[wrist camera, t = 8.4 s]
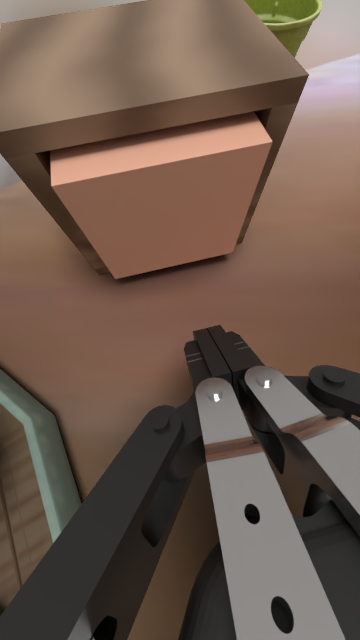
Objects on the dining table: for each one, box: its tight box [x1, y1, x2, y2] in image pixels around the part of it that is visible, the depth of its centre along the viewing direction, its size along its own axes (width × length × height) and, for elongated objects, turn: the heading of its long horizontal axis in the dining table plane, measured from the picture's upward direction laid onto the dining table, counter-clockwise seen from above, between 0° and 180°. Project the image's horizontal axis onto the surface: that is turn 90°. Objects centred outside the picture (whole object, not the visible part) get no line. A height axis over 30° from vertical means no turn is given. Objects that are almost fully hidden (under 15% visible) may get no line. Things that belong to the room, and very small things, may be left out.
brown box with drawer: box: [0, 0, 309, 275], centre depth 17 cm, size 16×12×12 cm
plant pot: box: [244, 0, 322, 58], centre depth 24 cm, size 9×9×9 cm
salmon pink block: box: [50, 111, 273, 279], centre depth 16 cm, size 12×10×9 cm
